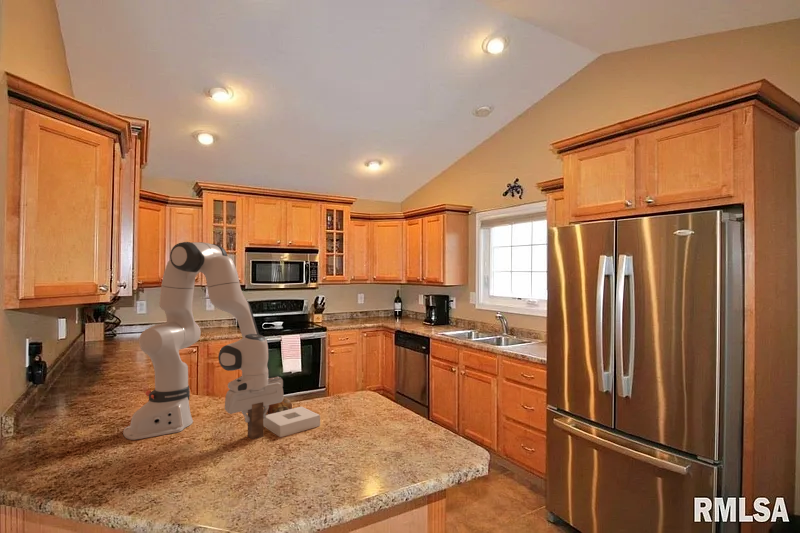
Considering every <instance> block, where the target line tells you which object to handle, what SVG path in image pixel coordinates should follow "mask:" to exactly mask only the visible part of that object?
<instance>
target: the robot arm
mask: <svg viewBox="0 0 800 533" xmlns="http://www.w3.org/2000/svg"><path fill="white" fill-rule="evenodd" d="M200 273H202V274H203V275H204V277H205V280H206V286H207V287H206V288H207V294H208V298H209V301H210V303H211V304H212V305H213V307H215V308H217V309H218V310H220V311H222V312H226V313H228V314H230V315H232V316H233V317H234V318H235V319H236V321H237V323H238V324H237V325H238V326H239V331H240V333H241V337H242V338H241V339H239V340H236V341H235V342H231V343H229V344H226V345H223V346H222V347H221V348H220V350H219V352H218V363H219V365H220V367H221V368H222V369H224V370H225V371H226V372H227V371H228V372H229V371H230V372H232V371H237V370H240V371H241V376H239V377H236V378H235V379H233V380H231V381H229V382H228V383H227V388H228V390H227V392H226V393H225V399H224V400H225V401H224V410H225V411H226V412H227V413H228V414H229V415H231V414H236V413H241V414H242V415H243V416H244V422H245V423H246V424H248V422H251V417H250V416H248V410H250V409H252V405H253V404H257V403H262V402H263V419H264V418H266V415H267V414H268V409H269V405H271V404H276V403H280V402H282V401H283V399H284V388H283V387H284V380H283V378H282V377H280V376H275V377H269V369H268V362H269V345H268V341H267V338H266V337H265V336H263V335H262V334H260V333H259V329H258V327H257V323H256V320H255V316H254V313H253V311H252V307H251V305H250V303H249V300H248V299H247V298H246V297H245V295H244V292H243V291H242V287H241V282H240V277H239V274H238V271H237V267H236V265H235V262H234V261H233V259H232V258H231V257H229V256H228V253H227V251H226V249H225V248H224V247H222V246H221V245H219V244H215V243H209V242H204V241H202V242H201V241H199V242H197V241H195V242H191V241H184V242H183V241H182V242H179V243H177V244H175V245H174V246H173V247H172V248H171V250H170V253H169V260H168V261H167V264H166V265H165V269H164V271H163V276H162V282H161V287H160V288H161V289H160V294H159V295H160V296H159V307H160V310H162V311H163V312H164V313H165V318H166V323H160V324H156V325H153V326H151V327H148V328H146V329H144V330H143V331H142V332H141V333H140V335H139V338H138V345H139V347H140V350H141V351H142V352H143V353H144V354H145V355H147V356H148V357H149V358H150V360H151V363H152V366H153V370H154V390H150V389H148V390H146V392H145V396H147V397H148V401H147V402H146V403H145V404H144V405H142V406H141V407H140V408H139V409H137V410H136V411H135V412H134V413H133V415H132V417H131V421H130V425H128V426H126V427H125V428H124V429H123V433H122V435H123V436H124V438H126V439H127V440H131V441H134V440H140V439H146V438H152V437H157V436H164V435H168V434H169V435H170V434H174V433H179V432H182V431H183V430H184V429H185V428H187V427H189V426H191V425H192V424H193V422H194V420H193V417H192V414H191V409H190V398H191V397H190V396H191V392H190V391H191V390H190V385H189V367H188V364H187V363H186V362H184V361H182V358H181V356H180V350H183V349H186V348H189V347H192V346H193V345H194V344H196V343H197V342H199V339H200V337H201V334H202V332H201V328H200V326H199V324H198V323H197V322H196V320H195V318H194V313H193V303H194V292H195V284H196V277H197V275H198V274H200Z"/></svg>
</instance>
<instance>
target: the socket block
mask: <svg viewBox="0 0 800 533" xmlns="http://www.w3.org/2000/svg"><path fill="white" fill-rule="evenodd" d="M263 426H264V427H263V428H265V427H266V428H265V429H267V430H268V431H269V432H271V433H273V434H274V435H276V436H277V437H279V438H284V437H287V436H290V435H293V434H296V433H300V432H304V431H307V430H310V429H314V428H317V427H321V414H319V413H316V412H314V411H312V410H310V409H308V408H306V407H304V406H298V407H297V406H296V407H294V408H293V407H292V409H289V410H285V411H281V412H277V413H273V414H266V418H264V419H263Z"/></svg>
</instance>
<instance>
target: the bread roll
mask: <svg viewBox="0 0 800 533" xmlns="http://www.w3.org/2000/svg"><path fill="white" fill-rule="evenodd" d="M289 409H293V403H292V401H291V400H290V399H288V398H287V397H284V399H283V401H282V402H280V403H276V404H271V405H269V409H268V411H267V415H269V414H273V413H277V412H281V411H285V410H289Z"/></svg>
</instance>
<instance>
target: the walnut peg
mask: <svg viewBox="0 0 800 533" xmlns="http://www.w3.org/2000/svg"><path fill="white" fill-rule="evenodd" d="M263 409H264V408H263V402H262V403H257V404H253V405H252V409H250V410H248V413H247V415H248V416H250V417H251V422H248V423H247V437H248V436H249V437H248V438H249V439H251V440H255V438H256V439H258V438H259V437H260V438H263V437H264V427H263ZM262 436H263V437H262ZM260 438H259V439H260Z"/></svg>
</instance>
